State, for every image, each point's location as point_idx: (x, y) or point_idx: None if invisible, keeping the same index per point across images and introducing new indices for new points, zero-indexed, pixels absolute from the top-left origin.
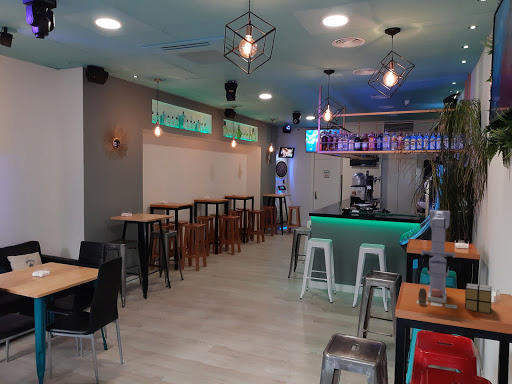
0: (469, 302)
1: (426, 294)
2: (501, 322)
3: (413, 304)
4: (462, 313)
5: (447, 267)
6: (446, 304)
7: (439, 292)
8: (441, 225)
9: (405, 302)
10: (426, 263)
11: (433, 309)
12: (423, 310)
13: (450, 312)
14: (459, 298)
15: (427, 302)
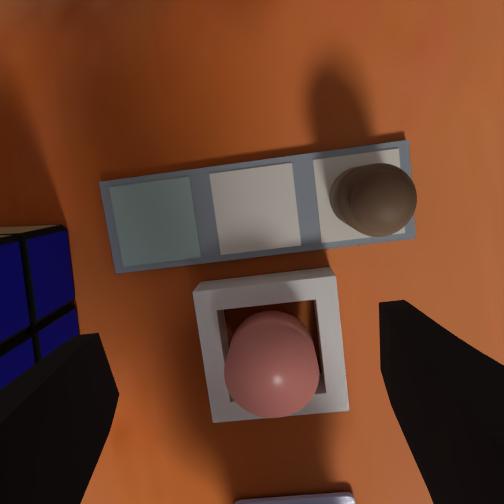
0: (5, 232)
1: (339, 199)
2: None
3: (417, 132)
4: (67, 121)
5: (18, 384)
6: (191, 252)
7: (245, 332)
8: None
9: (483, 150)
10: (501, 365)
11: (259, 91)
12: (322, 11)
13: (141, 92)
14: (145, 492)
15: (323, 220)
